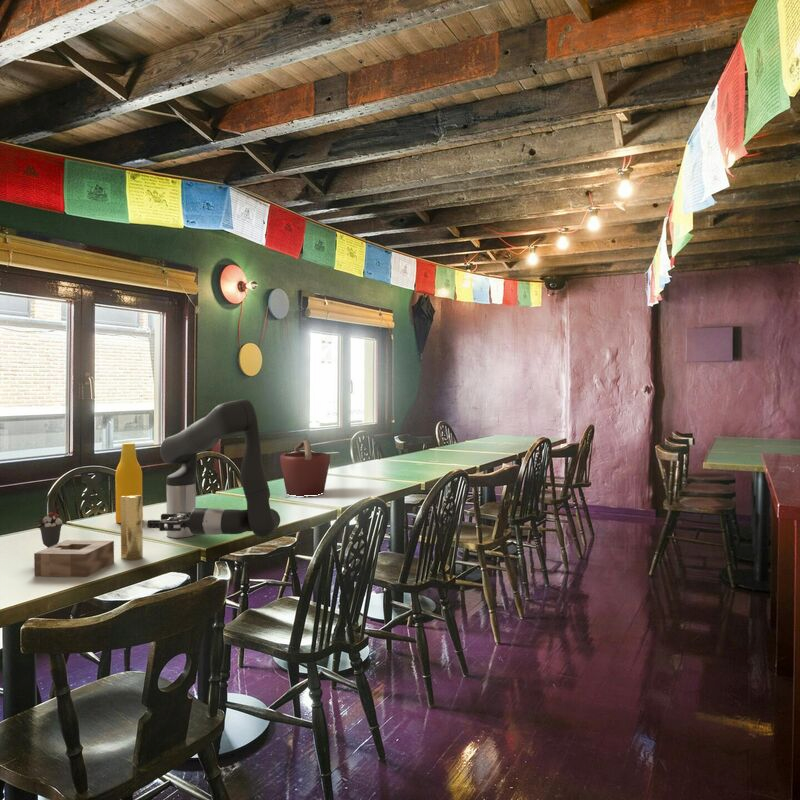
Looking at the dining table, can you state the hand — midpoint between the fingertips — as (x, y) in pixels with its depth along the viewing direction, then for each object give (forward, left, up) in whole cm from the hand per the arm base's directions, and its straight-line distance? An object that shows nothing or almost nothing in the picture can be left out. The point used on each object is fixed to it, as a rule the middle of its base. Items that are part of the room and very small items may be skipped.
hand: (154, 520), depth 178 cm
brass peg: (0, -6, -11) cm, 13 cm away
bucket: (-108, +21, -11) cm, 110 cm away
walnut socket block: (+11, -17, -11) cm, 23 cm away
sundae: (+3, -30, -11) cm, 32 cm away
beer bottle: (-47, -32, -11) cm, 58 cm away
